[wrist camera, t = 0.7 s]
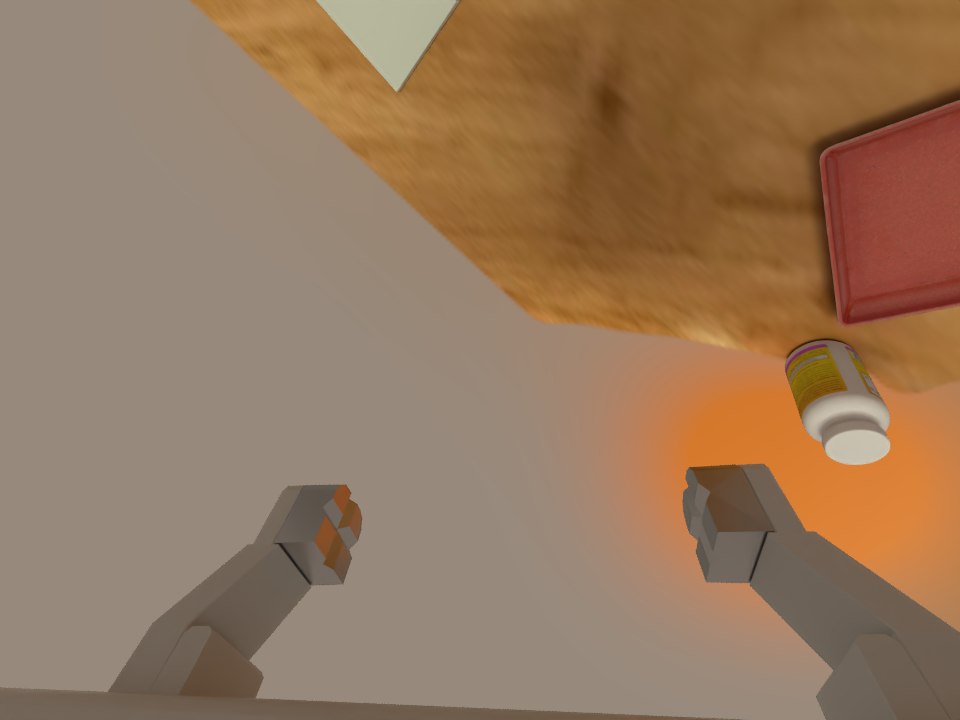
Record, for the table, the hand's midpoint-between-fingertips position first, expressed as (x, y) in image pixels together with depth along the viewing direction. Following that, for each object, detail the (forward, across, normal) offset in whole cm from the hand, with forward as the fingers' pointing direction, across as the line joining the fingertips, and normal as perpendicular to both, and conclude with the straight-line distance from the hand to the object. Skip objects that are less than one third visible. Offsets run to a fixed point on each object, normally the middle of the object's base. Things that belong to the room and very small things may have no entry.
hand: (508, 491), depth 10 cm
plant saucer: (+35, -36, +8) cm, 50 cm away
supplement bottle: (+36, -31, +26) cm, 54 cm away
